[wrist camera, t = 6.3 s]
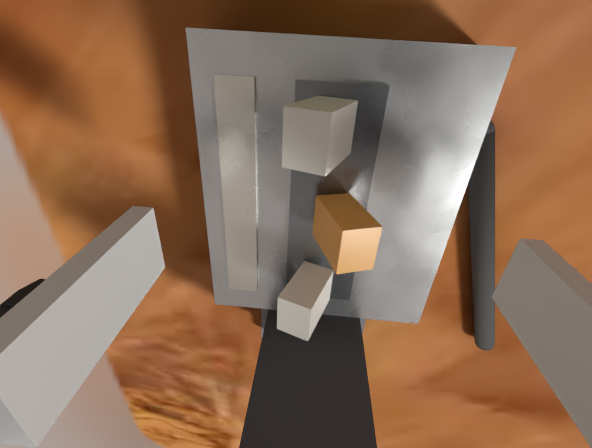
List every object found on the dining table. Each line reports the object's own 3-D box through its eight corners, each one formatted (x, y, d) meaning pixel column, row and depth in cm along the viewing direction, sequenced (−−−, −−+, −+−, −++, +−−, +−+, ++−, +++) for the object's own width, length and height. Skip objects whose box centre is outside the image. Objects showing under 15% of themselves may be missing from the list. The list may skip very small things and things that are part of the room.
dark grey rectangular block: (263, 284, 21) (185, 593, 9) (367, 294, 21) (426, 626, 9) (263, 328, 24) (199, 625, 12) (358, 338, 23) (394, 652, 11)
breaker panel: (210, 30, 14) (183, 27, 11) (479, 46, 14) (519, 47, 11) (228, 272, 21) (213, 306, 18) (406, 288, 21) (419, 326, 18)
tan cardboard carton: (315, 195, 14) (342, 230, 11) (349, 193, 14) (382, 226, 12) (312, 234, 15) (336, 274, 12) (343, 230, 15) (373, 269, 13)
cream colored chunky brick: (318, 95, 12) (283, 106, 10) (358, 100, 12) (332, 112, 9) (313, 146, 13) (281, 167, 11) (350, 152, 13) (325, 176, 10)
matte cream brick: (304, 260, 16) (277, 297, 14) (333, 270, 16) (311, 309, 13) (302, 290, 17) (276, 328, 15) (329, 299, 17) (308, 341, 14)
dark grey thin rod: (461, 119, 15) (471, 125, 14) (487, 112, 15) (499, 117, 14) (471, 341, 23) (479, 355, 22) (489, 338, 22) (497, 353, 21)
